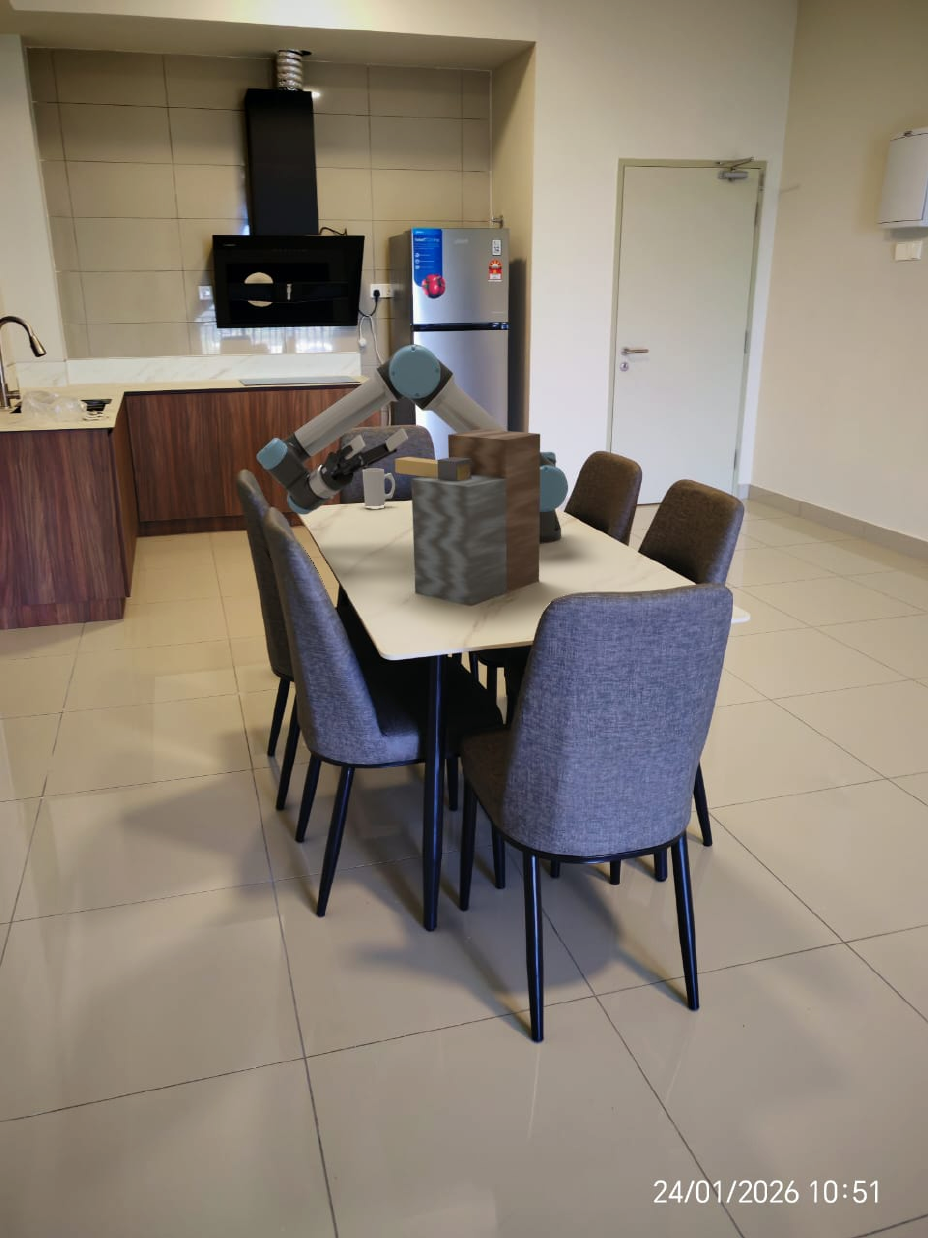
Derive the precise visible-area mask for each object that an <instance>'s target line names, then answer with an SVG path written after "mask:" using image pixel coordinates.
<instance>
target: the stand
mask: <svg viewBox="0 0 928 1238" xmlns="http://www.w3.org/2000/svg"><path fill="white" fill-rule="evenodd" d="M447 439H448V440H447V441H448V442H447V443H448V445H447V446H448V458H450V457H459V458H468V459H471V478H468V479H463V480H459V481H451V480H443V479H438V478H432V477H424V476H419V477H415V478H411V485H410V486H411V506H412V507H411V508H412V534H413V535H412V537H413V539H412V540H413V541H412V542H413V560H414V561H413V564H414V565H413V566H414V568H413V569H414V592H415V594H416V593H417V594H418V595H423V596H424V595H425V596H428V597H432V598H435V599H439V600H441V599H442V600H445V601H448V600H449V602H453V603H457V604H461V605H465V604H466V606H470V607H471V606H472V607H473V606H475V605H477V604H480V603H482V602H486V601H488V600H490V598H491V599H493V597H494V598H496V597H498V595H499V596H501V595H500V594H502V595H504V594H507V593H509V592H508V591H510V592H512V591H511V590H513V591H515V590H517V589H520V588H523V587H526V586H528V585H531V584H534V583H537V582H539V581H540V543H539V526H540V452H541V433H534V432H524V431H523V432H522V431H511V430H509V431H508V430H507V431H500V430H488V429H481V430H474V431H468V432H462V433H456V432H455V433H449V434H448V435H447ZM506 592H507V593H506ZM503 593H504V594H503ZM495 596H496V597H495ZM474 604H475V605H474Z"/></svg>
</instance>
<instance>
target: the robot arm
mask: <svg viewBox="0 0 928 1238" xmlns="http://www.w3.org/2000/svg"><path fill="white" fill-rule="evenodd" d="M405 397H406V398H407V399H408V400H410V402H412V403H413V404H414V405H415V406H417V407H418V408H419V409H420V410H421V411H422V412H427V411H430V412H433V413H434V414H435V416H437V417H438V418H439V419H440V420H442V421H443V422H444V423H445V424H446V425H447V426H448V427H449V428H451V429H452V430H453V432H455V434H456V433H462V432H468V431H474V430H481V429H488V430H500V431H508V430H507V429H506V428H505V427H504V426H502V424H500V423H499V422H498V421H497V420H496V419H495V418H494V417H492V416H491V414H489V412H487V411H486V410H485V409H484V408H483V407H482V406H481V405H479V404H478V402H476V401H475V400H474V399H473V398H472V397H471V396H469V395H468V394H467V393H466V392H465V390H463V388H461V387H460V386H459V385H458V384H457V383H456V381H455V374H454V372H453V371H452V370H451V369H449V367H447V365H446V364H444V363H443V362H442V361H441V360H440V359H439V358H437V356H436V355H435V354H434V353H433V351H431V350H430V349H429V348H427V347H425V346H422V345H420V344H415V343H409V344H406V345H403V346H401V347H400V348H398V349H397V350H395V352H394V353H393V354H392V355H391V356H390V357H389V358H388V359H387V360H385V362H384V363H382V364H381V365H379V366H378V367H377V368H376V369H375V371H374V375H373V376H372V377H370V378H369V379H368V380H366V381H365V382H363V383H362V384H360V385H359V386H358V387H356V388H355V389H353V390H351V392H349V393H348V394H346V395H345V396H343V397H342V398H341V399H339V400H338V401H337V402H335V403H333V404H331V406H329V407H328V408H326V409H325V410H324V411H323V412H321V413H320V414H318V415H317V416H315V417H314V418H312V419H311V420H310V421H309V422H307V423H306V424H304V425H302V426H300V427H299V429H297V430H296V431H294V432H293V433H292V434H290V435H289V436H287V437H286V438H284V439H280V438H278V437H274V438H273V439H271V441H270V442H268V443H267V444H266V445H265V446H264V447H263V448H262V449H260V451H258V453H257V454H256V459H257V461H258V462H259V464H261V466H262V468H263V469H264V470H266V472H268V473H269V474H270V475H271V476H272V478H274V479H275V480H276V481H277V482H278V483H279V485H280V486H281V487H283V488H284V489H285V490H286V492H287V495H286V496H287V497H286V501H287V503H288V507H289V508H290V509H291V510H292V511H293V512H294V513H296V514H298V515H303V516H304V515H309V514H310V513H312V512H314V511H315V510H318V509H319V508H320V507H321V506H322V505H323V504H325V503H326V502H327V501H329V500H330V499H333V500H334V498H335V495H337V494H338V493H339V492H340V491H342V490H344V489H345V488H346V487H347V486H349V485H350V484H351V483H352V482H353V480H354V475H355V473H358V472H359V471H360V470H361V469H362V470H364V469H369V468H370V467H371V466H373V465H375V464H376V463H379V462H380V461H383V460H384V459H386V458H388V457H390V456H391V455H393V454H395V453H397V452H398V449H397V448H398V447H400V446H401V445H402V444H404V442H406V441H408V440H409V437H408V434H407V432H406V429H405V428H404V427H402V428H400V429H398V430H397V431H396V432H395V433H394V434H392V435H390V437H388V438H385V440H384V442H383V443H382V444H379V445H377V446H375V447H373V448H371V449H369V450H366V451H365V452H363V451H361V450H363V449H364V448H365V447H366V443H365V441H364V439H363V437H362V435H361V434H358V435H356V437H354V438H353V439H352V440H350V441H349V442H348V443H346V445H344V446H343V447H342V448H340V449H337V450H336V451H335V453H334V451H331V452H329V453H328V454H327V456H326V459H325V460H324V463H322V464H321V465H319V466H318V467H317V468H316V469H315V470H313V471H312V472H311V471H310V470H309V469H308V467H307V466H306V465H305V464H304V463H306V462H307V461H308V460H309V459H312V458H313V456H315V455H317V454H318V453H319V452H320V451H322V450H323V449H325V448H326V447H328V446H329V445H330V444H332V443H334V442H335V441H337V440H338V439H340V437H342V436H344V435H345V434H346V433H348V432H349V431H351V430H352V429H353V428H356V427H357V426H358V425H359V424H361V423H363V421H365V420H366V419H368V418H369V417H371V416H372V415H374V414H375V413H376V412H378V411H380V410H381V409H382V408H383V407H386V406H387V405H388V404H389V403H391V402H399V401H401V400H402V399H404V398H405ZM556 464H557V459H556V453H555V452H553V451H540V526H539V544H545V543H551V542H556V541H558V540H560V539H561V538H562V527H561V525H560V521H559V518H558V515H557V511H556V509H557V508H559V507H560V506H561V505H562V504H563V503H564V502H565V500H566V498H567V496H568V492H569V483H568V482H569V481H568V480H567V477H566V474H565V473H564V471H562V470H561V469H560V468H559V467H557V466H556Z"/></svg>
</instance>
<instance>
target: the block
mask: <svg viewBox="0 0 928 1238" xmlns="http://www.w3.org/2000/svg"><path fill="white" fill-rule="evenodd" d="M394 466H395V469H394V470H395V471H394V472H395V474H401V475H402V474H403V475H412V476H417V477H418V476H419V477H432V478H438V479H443V480H451V481H459V480H463V479H468V478H471V459H468V458H459V457H450V458H449V457H444V458H441V459H440V458H439V459H429V458H420V457H413V456H405V457H399V458H395V459H394Z"/></svg>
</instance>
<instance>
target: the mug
mask: <svg viewBox="0 0 928 1238" xmlns="http://www.w3.org/2000/svg"><path fill="white" fill-rule="evenodd" d="M385 479H389V480H390V482H391V490H390V492H389V493H386V492H385ZM362 480H363V481H362V482H363V483H362V484H363V492H364V493H363V495H364V496H363V497H364V507H365V506H381V505H384V504H385V505H386V500H388V499H389V500H390V499H392V498H393V496H394V493H395V490H396V481H395V479H394V476H393V474H392V472H390V473H389V472H388V473H385V469H383V468H375V467H374V468H367V469H362Z"/></svg>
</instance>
